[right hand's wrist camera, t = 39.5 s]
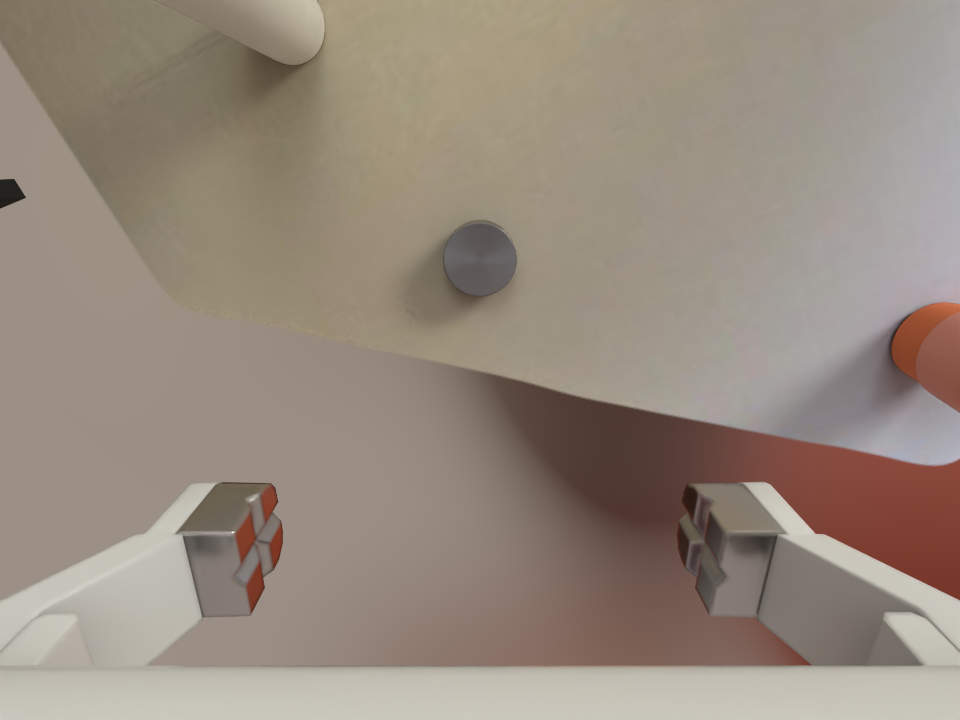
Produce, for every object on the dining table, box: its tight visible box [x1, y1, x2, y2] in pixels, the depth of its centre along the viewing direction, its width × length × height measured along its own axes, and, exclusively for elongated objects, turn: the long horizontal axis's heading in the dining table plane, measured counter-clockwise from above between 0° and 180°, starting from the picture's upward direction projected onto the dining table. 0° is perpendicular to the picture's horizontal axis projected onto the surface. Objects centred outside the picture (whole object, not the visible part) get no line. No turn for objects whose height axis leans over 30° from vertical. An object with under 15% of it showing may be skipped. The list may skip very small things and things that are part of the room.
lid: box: [443, 220, 517, 296], centre depth 38 cm, size 5×5×2 cm
